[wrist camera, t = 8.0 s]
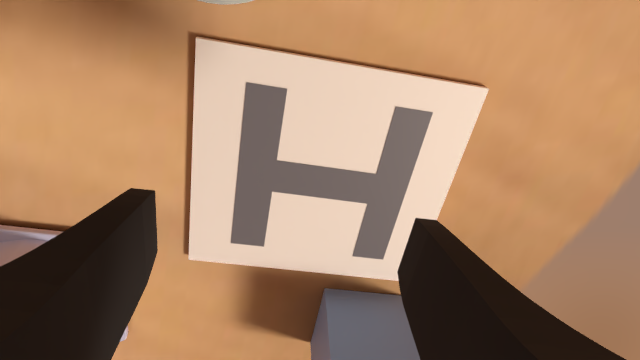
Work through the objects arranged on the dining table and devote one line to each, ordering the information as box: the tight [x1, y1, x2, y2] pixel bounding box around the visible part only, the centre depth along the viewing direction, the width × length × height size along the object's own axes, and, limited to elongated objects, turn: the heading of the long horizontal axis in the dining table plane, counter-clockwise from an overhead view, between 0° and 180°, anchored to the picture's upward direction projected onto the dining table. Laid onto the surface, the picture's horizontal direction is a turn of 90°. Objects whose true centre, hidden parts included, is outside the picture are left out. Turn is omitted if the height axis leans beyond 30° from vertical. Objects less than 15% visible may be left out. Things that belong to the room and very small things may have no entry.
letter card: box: [189, 36, 489, 281], centre depth 21 cm, size 13×12×1 cm
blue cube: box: [311, 288, 420, 360], centre depth 24 cm, size 5×5×5 cm
